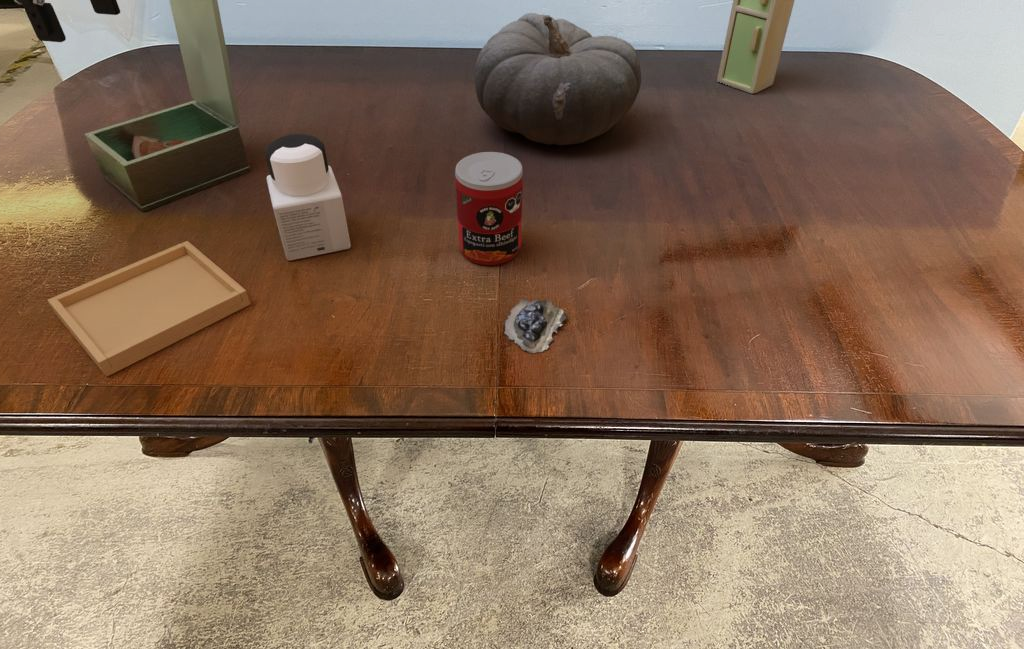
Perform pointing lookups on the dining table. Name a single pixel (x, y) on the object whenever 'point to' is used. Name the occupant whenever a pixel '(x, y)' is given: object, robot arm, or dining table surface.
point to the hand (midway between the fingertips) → (81, 26)
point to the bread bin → (170, 154)
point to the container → (305, 197)
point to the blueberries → (533, 324)
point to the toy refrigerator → (754, 43)
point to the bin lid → (205, 55)
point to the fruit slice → (151, 145)
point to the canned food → (489, 207)
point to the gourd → (556, 80)
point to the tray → (148, 306)
